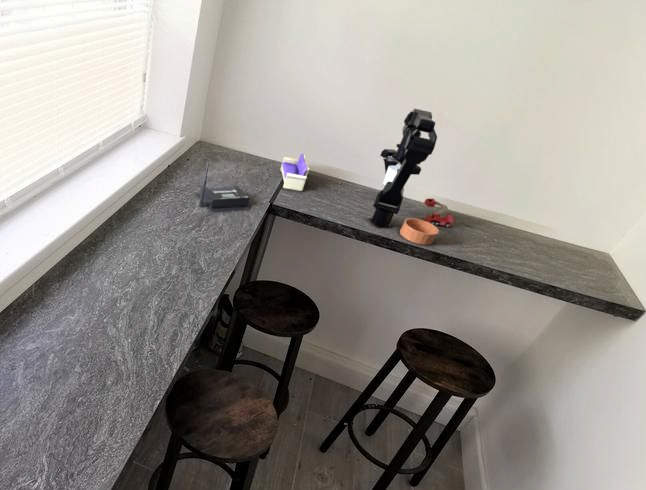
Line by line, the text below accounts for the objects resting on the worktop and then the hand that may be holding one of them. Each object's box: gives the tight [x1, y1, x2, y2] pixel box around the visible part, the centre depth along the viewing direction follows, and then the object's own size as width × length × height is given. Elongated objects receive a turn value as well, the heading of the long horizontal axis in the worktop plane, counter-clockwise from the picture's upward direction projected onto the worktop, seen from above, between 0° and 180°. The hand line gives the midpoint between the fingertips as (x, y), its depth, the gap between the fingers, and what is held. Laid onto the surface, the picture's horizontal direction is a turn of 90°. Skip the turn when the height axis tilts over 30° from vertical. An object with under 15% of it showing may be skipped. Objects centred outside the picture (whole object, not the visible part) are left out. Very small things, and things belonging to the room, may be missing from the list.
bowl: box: [399, 217, 440, 246], centre depth 187 cm, size 12×12×4 cm
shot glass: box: [382, 165, 401, 186], centre depth 196 cm, size 7×7×7 cm
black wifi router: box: [198, 162, 251, 212], centre depth 185 cm, size 20×14×17 cm
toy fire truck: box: [424, 198, 455, 228], centre depth 197 cm, size 3×14×10 cm, turn 84°
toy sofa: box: [279, 153, 310, 192], centre depth 213 cm, size 21×9×10 cm, turn 172°
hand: (391, 182), depth 197 cm, fingers closed on shot glass, 6 cm apart
